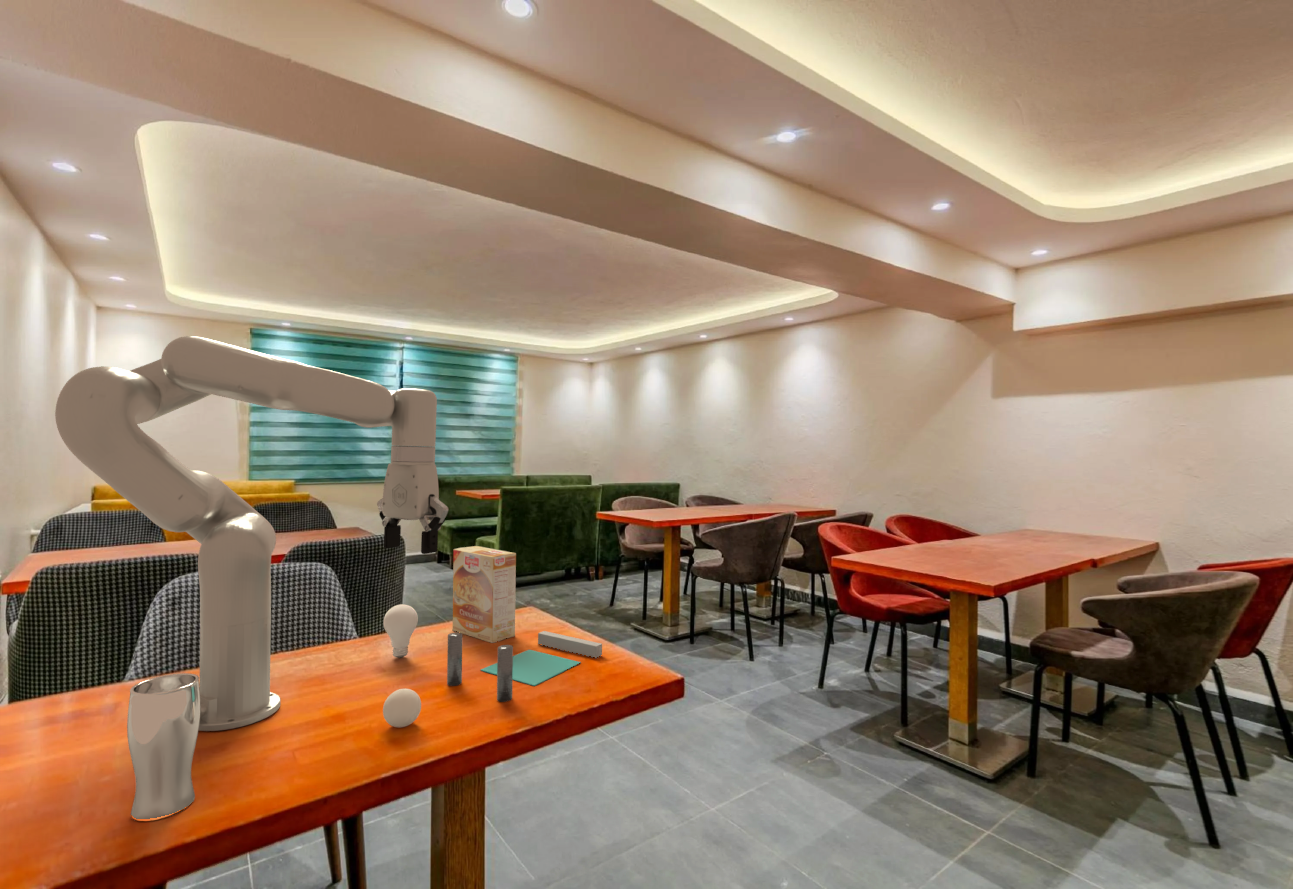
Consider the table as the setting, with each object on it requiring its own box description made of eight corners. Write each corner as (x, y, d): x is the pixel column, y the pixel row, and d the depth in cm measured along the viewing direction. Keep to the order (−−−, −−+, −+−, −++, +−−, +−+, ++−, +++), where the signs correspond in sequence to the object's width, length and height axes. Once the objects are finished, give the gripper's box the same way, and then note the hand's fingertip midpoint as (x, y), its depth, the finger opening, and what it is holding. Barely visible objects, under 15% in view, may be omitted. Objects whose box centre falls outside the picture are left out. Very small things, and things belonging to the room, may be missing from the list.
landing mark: (534, 686, 111) (534, 685, 111) (480, 670, 118) (480, 669, 118) (580, 663, 123) (580, 662, 123) (529, 650, 130) (529, 649, 130)
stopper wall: (596, 658, 126) (596, 646, 126) (538, 644, 134) (538, 633, 134) (601, 655, 127) (602, 643, 127) (543, 642, 136) (544, 630, 136)
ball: (398, 737, 91) (398, 700, 91) (374, 728, 94) (375, 692, 94) (428, 723, 96) (429, 687, 96) (405, 714, 99) (406, 680, 99)
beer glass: (149, 830, 69) (150, 699, 69) (112, 816, 71) (114, 689, 71) (212, 797, 75) (214, 677, 75) (176, 785, 78) (178, 669, 78)
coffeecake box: (451, 630, 143) (452, 548, 143) (475, 623, 149) (476, 545, 149) (491, 644, 134) (492, 556, 134) (516, 636, 140) (517, 552, 140)
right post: (504, 703, 103) (505, 650, 103) (493, 699, 105) (494, 648, 105) (515, 697, 106) (516, 646, 106) (504, 694, 107) (505, 643, 107)
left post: (453, 687, 110) (454, 637, 110) (444, 684, 111) (444, 635, 111) (464, 682, 112) (465, 634, 112) (455, 679, 114) (455, 631, 114)
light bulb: (382, 655, 126) (383, 602, 126) (416, 650, 129) (416, 599, 129) (383, 665, 120) (383, 610, 120) (418, 661, 123) (419, 607, 123)
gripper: (363, 455, 111) (360, 548, 111) (430, 458, 103) (427, 558, 103) (397, 455, 118) (394, 543, 117) (463, 458, 110) (460, 552, 109)
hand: (410, 550), depth 110 cm, fingers open, 9 cm apart
